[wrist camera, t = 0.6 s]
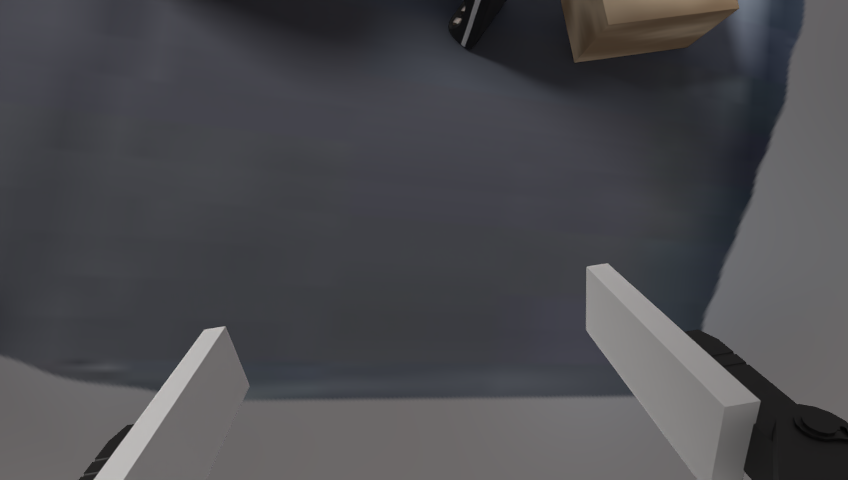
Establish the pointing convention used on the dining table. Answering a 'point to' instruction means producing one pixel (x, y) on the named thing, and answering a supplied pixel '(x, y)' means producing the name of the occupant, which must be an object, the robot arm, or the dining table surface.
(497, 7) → the battery charger
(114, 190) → the dining table surface
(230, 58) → the dining table surface
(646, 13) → the oak block
